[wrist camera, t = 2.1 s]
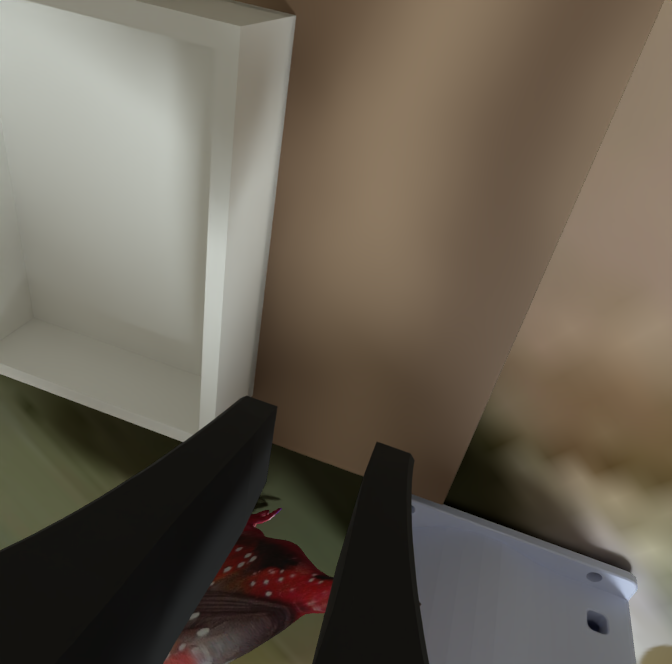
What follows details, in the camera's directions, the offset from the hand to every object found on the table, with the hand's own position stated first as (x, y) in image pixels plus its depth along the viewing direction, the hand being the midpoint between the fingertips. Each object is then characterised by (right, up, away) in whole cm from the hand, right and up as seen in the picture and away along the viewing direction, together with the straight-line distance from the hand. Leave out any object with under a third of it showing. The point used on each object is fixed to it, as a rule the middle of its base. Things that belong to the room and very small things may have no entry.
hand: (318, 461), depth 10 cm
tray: (-6, +6, +7) cm, 11 cm away
